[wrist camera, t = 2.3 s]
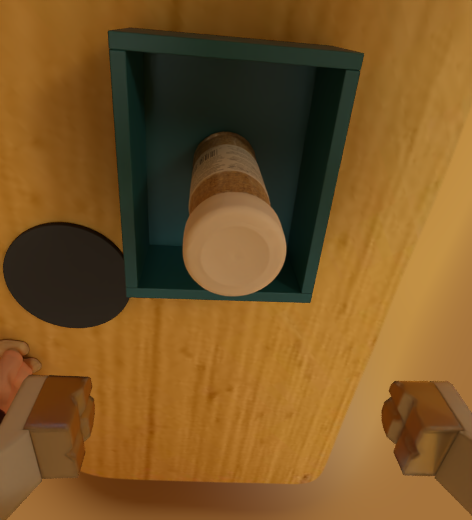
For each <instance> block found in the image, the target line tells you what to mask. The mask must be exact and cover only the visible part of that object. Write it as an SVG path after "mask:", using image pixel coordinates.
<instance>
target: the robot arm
mask: <svg viewBox="0 0 472 520" xmlns="http://www.w3.org/2000/svg"><path fill="white" fill-rule="evenodd" d="M91 389H92V383H91V378H90V377H79V376H54V375H49V376H45V375H28V376H27V377H26V378H25V379H24V380H23V382H22V384H21V386H20V388H19V390H18V392H17V394H16V396H15V398H14V399H13V401H12V403H11V405H10V407H9V409H8V411H7V413H6V415H5V417H4V418H3V420H2V422H1V424H0V520H6V519H7V518H8V517H9V516H10V515H11V514H12V513H13V512H14V511H15V510H16V509H17V508H18V506H19V505H20V504H21V503H22V502H23V501H24V500H25V499H26V498H27V497H28V496H29V495H30V493H31V492H32V491H33V490H34V489H35V488H36V487H37V486H38V485H39V484H40V483H41V481H42V479H46V478H77V477H78V476H79V473H80V469H81V466H82V462H83V459H84V456H85V446H84V442H85V441H86V440H87V439H88V438H89V437H90V435H91V431H92V428H93V422H94V415H95V404H94V399H93V398H92V397H91V396H90V393H91ZM389 392H390V394H391V397H390V398H389V399H388V400H386V401H385V402H384V405H383V408H382V424H383V428H384V431H385V433H386V436H387V437H388V438H389V439H390V440H391V441H392V442H393V443H395V444H396V445H395V448H394V454H395V457H396V459H397V461H398V463H399V466H400V468H401V470H402V473H403V475H412V476H435V479H436V480H437V481H438V482H439V483H440V484H441V485H442V486H443V487H444V488H445V489H446V490H447V491H448V492H449V493H450V494H451V495H452V496H453V497H454V498H455V499H456V500H457V501H458V502H459V503H460V504H461V505H462V506H463V507H464V508H465V509H466V510H467V511H468V512H469V513H470V514H471V515H472V413H471V411H470V410H469V408H468V407H467V405H466V404H465V402H464V401H463V399H462V398H461V396H460V395H459V393H458V392H457V390H456V389H455V388H454V386H453V385H452V384H451V383H450V382H448V381H430V382H428V381H394V382H393V383H392V384H391V386H390V389H389Z"/></svg>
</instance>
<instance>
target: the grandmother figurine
mask: <svg viewBox="0 0 472 520" xmlns="http://www.w3.org/2000/svg"><path fill="white" fill-rule="evenodd" d="M28 352H29V347H28V345H27V344H26V343H24V342H22V341H14V340H1V341H0V357H2V358H1V360H0V424H1V422H2V420H3V418H4V417H5V415H6V413H7V411H8V409H9V407H10V405H11V403H12V401H13V399H14V398H15V396H16V394H17V392H18V390H19V388H20V386H21V384H22V382H23V380H24V379H25V378H26V377H27V376H28V375H32V373H34V372H36V371H38V370H40V369H41V364H40V362H39V361H38V360H37V359H34V358H27V359H23V358H22V356H24V355H26V354H27V353H28Z"/></svg>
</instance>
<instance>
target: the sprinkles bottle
mask: <svg viewBox="0 0 472 520" xmlns="http://www.w3.org/2000/svg"><path fill="white" fill-rule="evenodd" d="M285 257H286V240H285V236H284V233H283V229H282V226H281V223H280V221H279V218H278V216H277V214H276V213H275V211H274V210H273V209H272V208H271V206H270V201H269V196H268V193H267V190H266V187H265V184H264V181H263V178H262V175H261V172H260V169H259V167H258V164H257V162H256V157H255V152H254V150H253V148H252V147H251V145H250V143H249V142H248V141H247V140H246V139H245V138H243V137H242V136H240V135H238V134H237V133H232V132H217V133H214V134H211V135H210V136H208V137H206V138H205V139H204V140H203V141H202V142H201V143H200V144H199V145H198V147H197V149H196V151H195V153H194V159H193V172H192V179H191V187H190V197H189V218H188V220H187V222H186V225H185V229H184V236H183V259H184V263H185V267H186V269H187V271H188V273H189V274H190V276H191V277H192V278H193V279H194V280H195V282H197V283H198V284H199V285H200V286H201V287H203V288H204V289H206V290H208V291H210V292H212V293H215V294H218V295H223V296H243V295H248V294H251V293H254V292H256V291H258V290H261V289H262V288H264V287H265V286H267V285H268V284H269V283H271V282H272V281H273V280H274V279H275V277H276V276H277V275H278V274H279V272H280V270H281V269H282V266H283V264H284V261H285Z"/></svg>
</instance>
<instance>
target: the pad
mask: <svg viewBox="0 0 472 520" xmlns="http://www.w3.org/2000/svg"><path fill="white" fill-rule="evenodd" d="M3 273H4V279H5V282H6V285H7V287H8V289H9V291H10V293H11V294H12V295H13V297H14V298H15V299H16V301H17V302H18V303H19V304H20V305H21V306H22V307H23V308H24V309H26V310H27V311H28V312H30V313H31V314H32V315H34V316H36V317H37V318H39V319H41V320H43V321H46V322H48V323H51V324H54V325H58V326H62V327H68V328H87V327H93V326H97V325H100V324H103V323H106V322H107V321H109V320H111V319H113V318H114V317H116V316H117V315H118V314H119V313H120V312H121V311H122V310H123V309H124V307H125V306H126V304H127V302H128V300H129V298H130V297H126V284H125V270H124V256H123V254H122V252H121V251H120V250H119V249H118V248H117V247H116V246H115V245H114V244H113V243H112V242H111V241H110V240H108V239H107V238H106V237H104V236H103V235H101V234H99V233H98V232H96V231H93V230H91V229H89V228H86V227H83V226H80V225H76V224H71V223H47V224H42V225H38V226H35V227H33V228H30V229H28V230H27V231H25V232H23V233H22V234H21V235H19V236H18V237H17V238H16V239H15V240H14V242H13V243H12V244H11V245H10V247H9V248H8V250H7V252H6V255H5V258H4V263H3Z"/></svg>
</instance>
